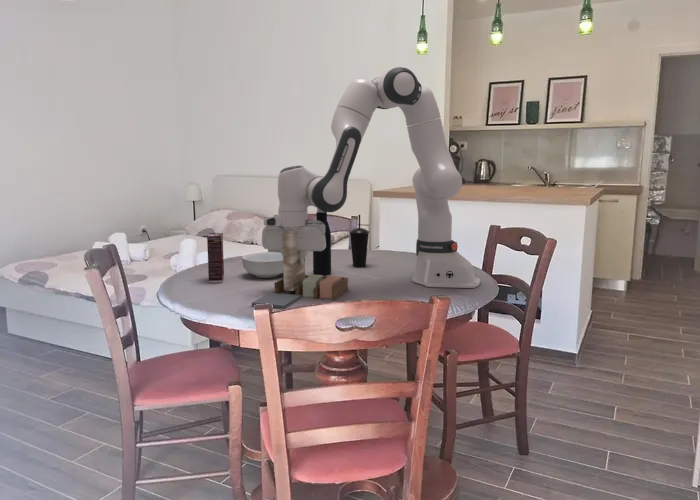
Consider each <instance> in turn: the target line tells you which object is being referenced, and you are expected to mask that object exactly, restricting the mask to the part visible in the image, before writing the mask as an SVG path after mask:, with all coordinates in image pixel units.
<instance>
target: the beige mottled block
mask: <svg viewBox="0 0 700 500" xmlns="http://www.w3.org/2000/svg"><path fill="white" fill-rule="evenodd" d="M282 238H283V271H284V272H283V278H284V290H286V291H292V292H294V291H295V287H297V286H299V285H300V284H302V283H303V280H304V279H305V275H306V257H305V258H304V264H303V265H298V259H299V258H301V256H302V254H301V250H296V232H295V231H286V230H285V231H282Z"/></svg>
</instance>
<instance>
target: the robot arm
mask: <svg viewBox="0 0 700 500" xmlns="http://www.w3.org/2000/svg"><path fill="white" fill-rule="evenodd" d="M397 107H398V108H399V109H401V112H402V113H403V115H404V117H405V122H406V128H407V133H408V138H409V143H410V147H411V151H412V153H413V155H414V156H415V159H416V161H417V163H418V166H419V168H418V169H417V170H416V171H415V172H414V173H413V176H412V185H413V188H414V195H415V201H416V209H417V220H418V221H417V225H418V226H417V239H416V242H415V254H416V261H415V262H416V263H415V268H414V272H413V273H414V274H413V276H412V279H411V280H412V282H413V283H416V284H419V285H422V286H424V287H427V288H428V287H429V288H453V289H454V288H458V289H459V288H462V289H463V288H465V289H474V288H477V287H480V285H481V279H480V278H479V277H478V276H475V272H474V267H473V264H472V263H471V261H469V260H468V259H466V257H465V256H463V255H461V253H459V252H458V241H454V240H453V239H452V231H453V230H452V225H453V223H452V222H453V217H452V213H451V211H450V208H449V206H450V205H449V203H448V202H449V201H448V199H450V198H453V197H455V196H456V195H457V194H459V192H460V191H461V189H462V186H463V178H462V175H461V174H460V172H459V171H458V170H457V167H456V165H455V163H454V160H453V158H452V155H451V152H450V150H449V148H448V145H447V141H446V137H445V132H444V127H443V122H442V117H441V113H440V110H439V105H438V102H437V100H436V98H435V95H434V93H433V91H432V89H430V88H428V87H425V86H422V84H421V83H420V81H419V80H418V78H417V76H416V75H415V73H414V72H413V71H412V70H411V69H409V68H407V67H402V66H399V67H398V66H397V67H393V68H392V69H389V70H386V71H384V72H382V73H381V74H380V75H379V76H377V77H375V78H373V79H372V80H368V79H366V78H355V79H353V80H352V81H351V82H349V85H348V86H347V87H346V89H345V90H344V92H343V94H342V96H341V97H340V100H339V102H338V103H337V105H336V108H335V111H334V113H333V117H332V119H331V120H332V121H331V125H330V130H331V133H332V134H333V136H334V138H335V143H336V147H335V151H334V153H333V155H332V158H331V161H330V164H329V166H328V169H327V171H326V173H325V174H324V175H319V174H318V173H317V174H316V173H315V172H312V171H310V170H308V169H307V168H305V167H304V165H293V166H288V167H284V168H282V169H281V170H280V171H279V174H278V180H277V197H278V200H279V201H278V202H279V206H278V213H277V214H275V215H273V216H269V217H267V218H264V219H263V225H264V227H263V228H262V231H261V245H262V248H263V249H265V250H268V249H280V250H281V254H282V256H283V238H282V231H285V230H286V231H295V232H296V250H301V254H302V256H301V258H299V259H298V265H303V264H304V258H305V259H306V257H307V254H308V252H313V251H323V250H324V249H325V248H326V238H325V231H326V228H325V224H324V223H323V222H321V221H319V220H317V221H316V220H313V219H309V216H308V207H314V208H316V209H317V208H319V209H320V210H322V211H324V212H327V213H334V212H337V211H339V210H340V209H341V208H342V207H343V206H344V204H345V203H346V201H347V198H348V197H347V195H348V181H349V178H350V174H351V171H352V169H353V165H354V163H355V160H356V157H357V154H358V151H359V149H360V144H362V143H361V142H362V140H363V138H364V135H365V133H366V131H367V129H368V127H369V125H370V122H371V120H372V117H373V114H374V112H375V111H376V109H380V110H389V109H394V108H397ZM321 223H322V224H321Z"/></svg>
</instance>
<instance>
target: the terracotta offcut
mask: <svg viewBox="0 0 700 500" xmlns="http://www.w3.org/2000/svg"><path fill="white" fill-rule="evenodd" d="M327 276H328V277H327V278H325V279H323V280H322V281H320V297H319V298H321V299H331V300H332V287H333V286H334V285H335V284H337V283H338V282H340V281H341V280H342V277H343V276H341V275H340V276H339V275H327Z"/></svg>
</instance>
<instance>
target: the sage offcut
mask: <svg viewBox="0 0 700 500" xmlns="http://www.w3.org/2000/svg"><path fill="white" fill-rule="evenodd" d="M308 275H309V276H308V277H307V278H306V279H304V280H303V295H302V297H304V298H314V291H313V289H314V288H316V287H317V286H319V285H320V281H322V280H323V275H314V274H308Z"/></svg>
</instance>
